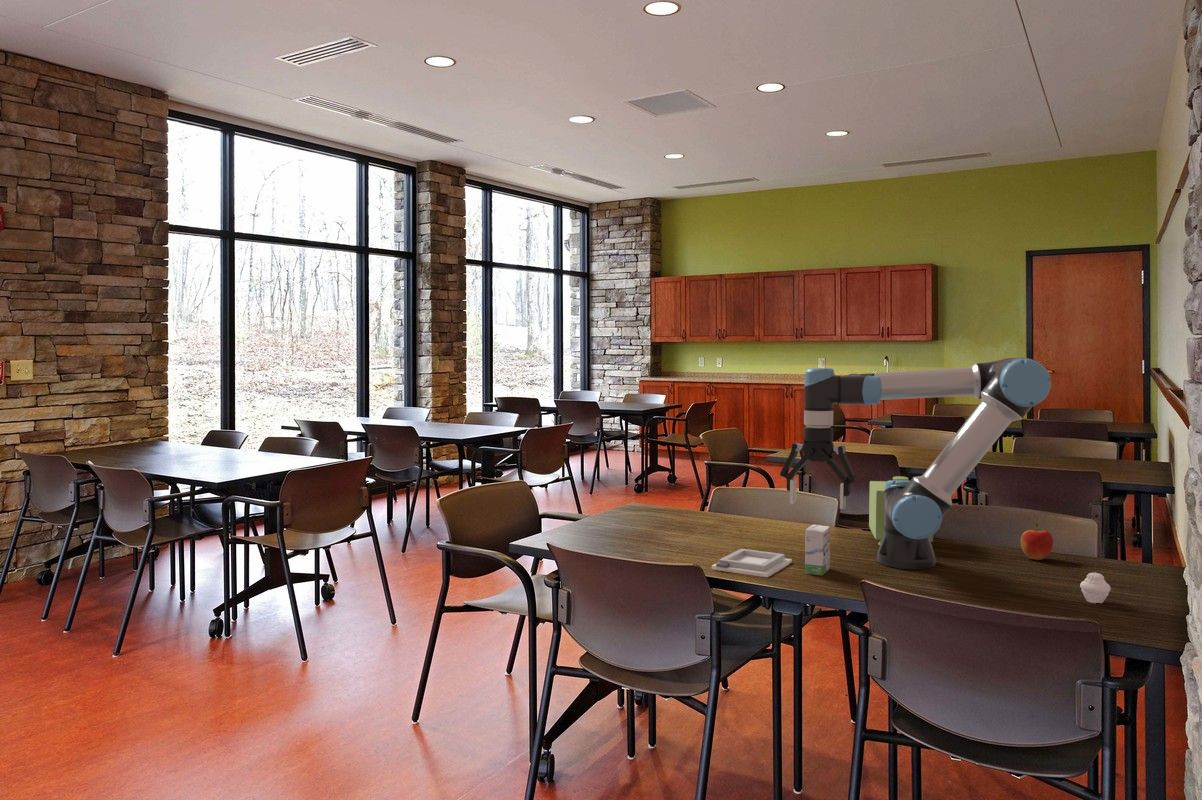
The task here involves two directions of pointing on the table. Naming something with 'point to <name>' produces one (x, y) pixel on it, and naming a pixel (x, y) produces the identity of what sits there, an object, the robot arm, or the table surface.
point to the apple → (1036, 544)
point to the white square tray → (752, 563)
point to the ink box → (817, 549)
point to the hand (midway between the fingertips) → (817, 505)
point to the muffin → (1095, 588)
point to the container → (879, 508)
